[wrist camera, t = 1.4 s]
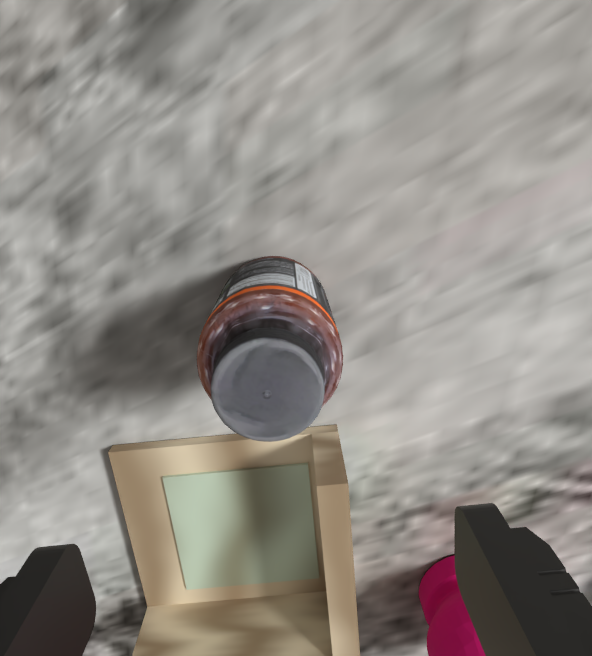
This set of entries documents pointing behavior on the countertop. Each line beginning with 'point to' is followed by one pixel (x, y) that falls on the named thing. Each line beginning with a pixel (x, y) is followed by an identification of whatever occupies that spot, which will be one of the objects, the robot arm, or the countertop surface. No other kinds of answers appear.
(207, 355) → the supplement bottle
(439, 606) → the pepper mill
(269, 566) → the tray
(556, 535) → the countertop surface
